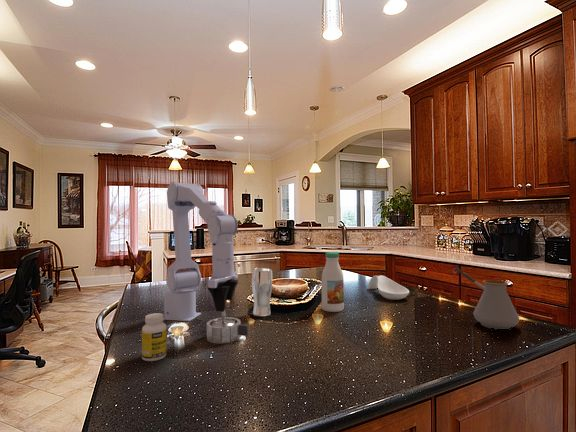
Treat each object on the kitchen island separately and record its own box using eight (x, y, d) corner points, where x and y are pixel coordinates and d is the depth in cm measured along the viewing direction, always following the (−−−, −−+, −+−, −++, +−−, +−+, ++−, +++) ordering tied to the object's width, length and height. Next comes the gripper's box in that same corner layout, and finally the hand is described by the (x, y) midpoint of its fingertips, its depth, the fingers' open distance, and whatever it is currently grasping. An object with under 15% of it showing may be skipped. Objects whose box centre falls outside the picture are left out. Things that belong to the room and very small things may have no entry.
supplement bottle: (151, 364, 73) (151, 320, 73) (137, 358, 76) (136, 316, 76) (171, 355, 78) (171, 314, 78) (157, 350, 81) (156, 310, 81)
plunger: (208, 328, 87) (207, 302, 87) (218, 320, 93) (217, 297, 93) (230, 329, 86) (229, 304, 86) (238, 322, 92) (238, 298, 92)
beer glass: (268, 317, 106) (268, 271, 106) (248, 315, 108) (248, 270, 108) (274, 312, 112) (275, 268, 113) (255, 310, 114) (256, 267, 115)
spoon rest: (415, 301, 125) (415, 282, 125) (387, 303, 122) (387, 284, 122) (384, 288, 148) (383, 272, 148) (360, 289, 146) (359, 273, 146)
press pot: (200, 342, 86) (200, 326, 86) (215, 330, 95) (215, 316, 95) (241, 345, 84) (241, 329, 84) (252, 332, 92) (252, 318, 92)
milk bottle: (319, 311, 113) (318, 253, 113) (325, 305, 120) (324, 251, 120) (341, 313, 110) (340, 254, 110) (346, 307, 117) (345, 251, 117)
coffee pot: (529, 330, 92) (529, 276, 92) (498, 334, 89) (497, 279, 89) (468, 309, 113) (468, 266, 113) (441, 312, 110) (440, 267, 110)
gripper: (226, 263, 81) (226, 317, 81) (246, 256, 96) (246, 302, 96) (200, 262, 83) (200, 316, 83) (223, 255, 97) (224, 301, 97)
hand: (223, 308), depth 89 cm, fingers open, 4 cm apart
